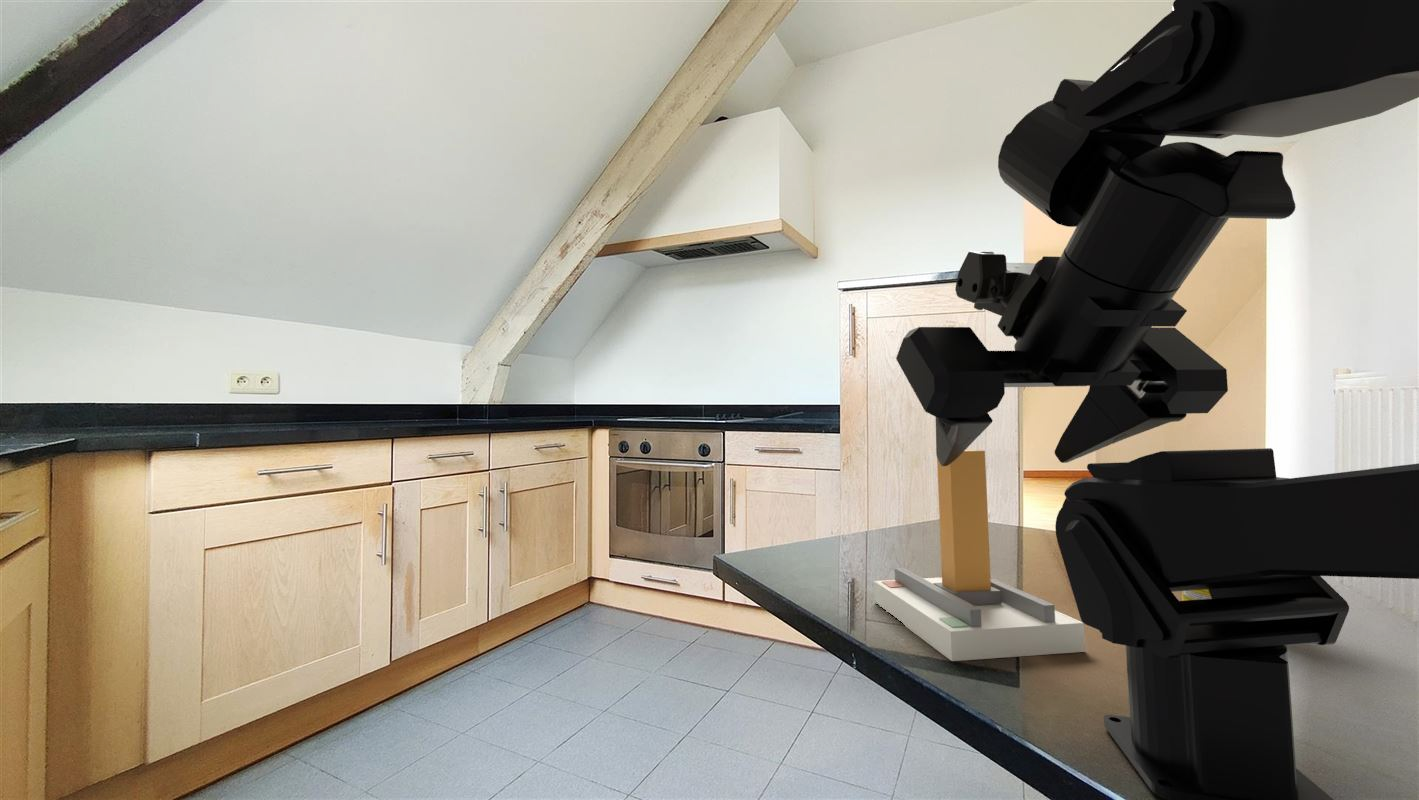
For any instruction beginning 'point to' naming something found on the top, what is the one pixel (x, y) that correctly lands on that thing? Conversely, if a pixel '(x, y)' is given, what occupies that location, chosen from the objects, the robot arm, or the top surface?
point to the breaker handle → (965, 529)
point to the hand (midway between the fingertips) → (1001, 459)
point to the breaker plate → (979, 620)
